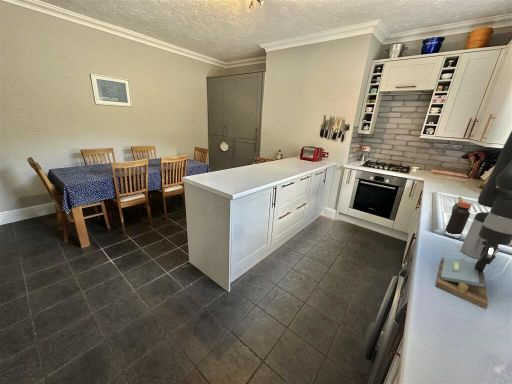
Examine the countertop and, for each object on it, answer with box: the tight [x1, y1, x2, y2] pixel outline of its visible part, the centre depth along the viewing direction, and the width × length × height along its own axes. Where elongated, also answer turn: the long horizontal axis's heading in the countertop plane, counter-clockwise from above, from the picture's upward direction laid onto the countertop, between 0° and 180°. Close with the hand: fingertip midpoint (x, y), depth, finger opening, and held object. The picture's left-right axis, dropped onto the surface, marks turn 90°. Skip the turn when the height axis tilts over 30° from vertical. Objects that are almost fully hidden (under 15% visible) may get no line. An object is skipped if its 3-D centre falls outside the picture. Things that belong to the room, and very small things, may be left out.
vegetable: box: [451, 196, 464, 213], centre depth 124 cm, size 4×4×20 cm
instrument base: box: [435, 257, 489, 309], centre depth 80 cm, size 23×13×4 cm, turn 135°
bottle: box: [444, 200, 472, 235], centre depth 114 cm, size 7×7×20 cm
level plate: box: [441, 257, 486, 287], centre depth 79 cm, size 17×11×3 cm, turn 135°
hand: (478, 269), depth 76 cm, fingers closed
